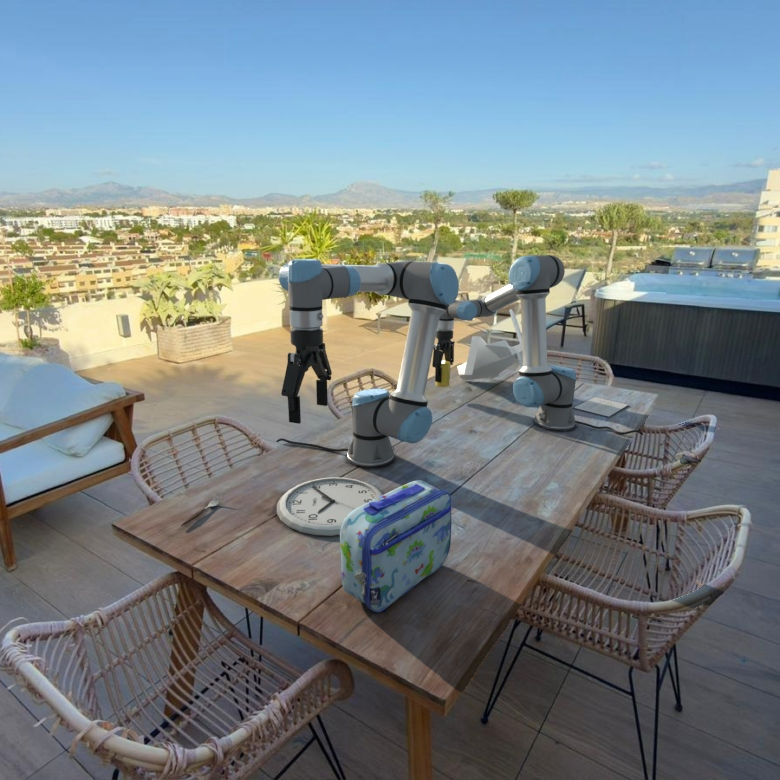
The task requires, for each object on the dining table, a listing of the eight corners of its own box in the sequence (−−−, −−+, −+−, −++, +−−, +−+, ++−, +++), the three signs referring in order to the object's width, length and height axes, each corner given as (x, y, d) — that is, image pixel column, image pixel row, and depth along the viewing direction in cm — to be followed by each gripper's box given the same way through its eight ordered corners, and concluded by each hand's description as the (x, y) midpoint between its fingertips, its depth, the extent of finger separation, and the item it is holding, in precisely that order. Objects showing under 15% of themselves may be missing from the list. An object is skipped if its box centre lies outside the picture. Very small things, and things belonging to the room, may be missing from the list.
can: (443, 382, 240) (444, 359, 237) (452, 385, 235) (453, 362, 232) (432, 384, 236) (433, 361, 233) (441, 387, 231) (442, 364, 228)
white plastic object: (478, 423, 260) (457, 400, 235) (460, 349, 282) (438, 321, 257) (551, 399, 247) (536, 372, 223) (525, 323, 270) (510, 291, 245)
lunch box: (369, 626, 100) (370, 530, 93) (334, 598, 107) (332, 507, 101) (455, 567, 117) (460, 483, 111) (419, 547, 124) (423, 467, 118)
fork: (176, 526, 131) (176, 519, 130) (217, 497, 145) (217, 491, 145) (185, 528, 130) (184, 521, 130) (225, 499, 145) (224, 492, 144)
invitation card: (608, 416, 214) (573, 407, 224) (608, 416, 214) (573, 408, 224) (628, 404, 229) (594, 396, 238) (628, 405, 229) (594, 397, 238)
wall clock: (392, 527, 129) (268, 531, 127) (391, 533, 130) (269, 537, 127) (383, 473, 158) (282, 475, 155) (383, 478, 158) (282, 480, 156)
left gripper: (292, 338, 109) (296, 433, 116) (344, 320, 132) (345, 400, 138) (262, 335, 112) (267, 428, 118) (317, 318, 134) (319, 396, 140)
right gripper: (449, 325, 237) (447, 374, 244) (424, 331, 223) (423, 383, 230) (463, 327, 233) (461, 377, 240) (439, 333, 219) (437, 386, 225)
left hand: (309, 413), depth 128 cm, fingers open, 13 cm apart
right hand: (442, 380), depth 235 cm, fingers closed on can, 6 cm apart
